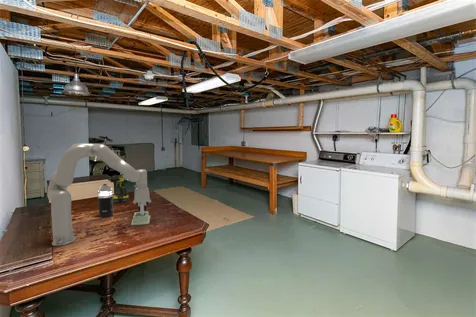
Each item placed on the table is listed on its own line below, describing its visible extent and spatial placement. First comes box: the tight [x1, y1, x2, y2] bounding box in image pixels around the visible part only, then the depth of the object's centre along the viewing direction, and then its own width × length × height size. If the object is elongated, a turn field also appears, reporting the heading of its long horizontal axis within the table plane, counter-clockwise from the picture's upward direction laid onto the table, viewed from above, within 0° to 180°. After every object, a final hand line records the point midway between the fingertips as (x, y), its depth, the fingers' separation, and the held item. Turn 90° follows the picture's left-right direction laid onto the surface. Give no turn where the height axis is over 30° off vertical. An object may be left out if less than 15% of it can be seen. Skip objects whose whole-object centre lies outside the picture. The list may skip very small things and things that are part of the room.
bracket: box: [139, 202, 146, 216], centre depth 182 cm, size 6×5×12 cm
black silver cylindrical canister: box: [97, 183, 114, 218], centre depth 192 cm, size 10×10×25 cm
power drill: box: [107, 174, 130, 204], centre depth 230 cm, size 9×17×25 cm, turn 107°
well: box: [130, 210, 151, 226], centre depth 182 cm, size 16×12×5 cm
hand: (142, 210), depth 182 cm, fingers closed on bracket, 2 cm apart
